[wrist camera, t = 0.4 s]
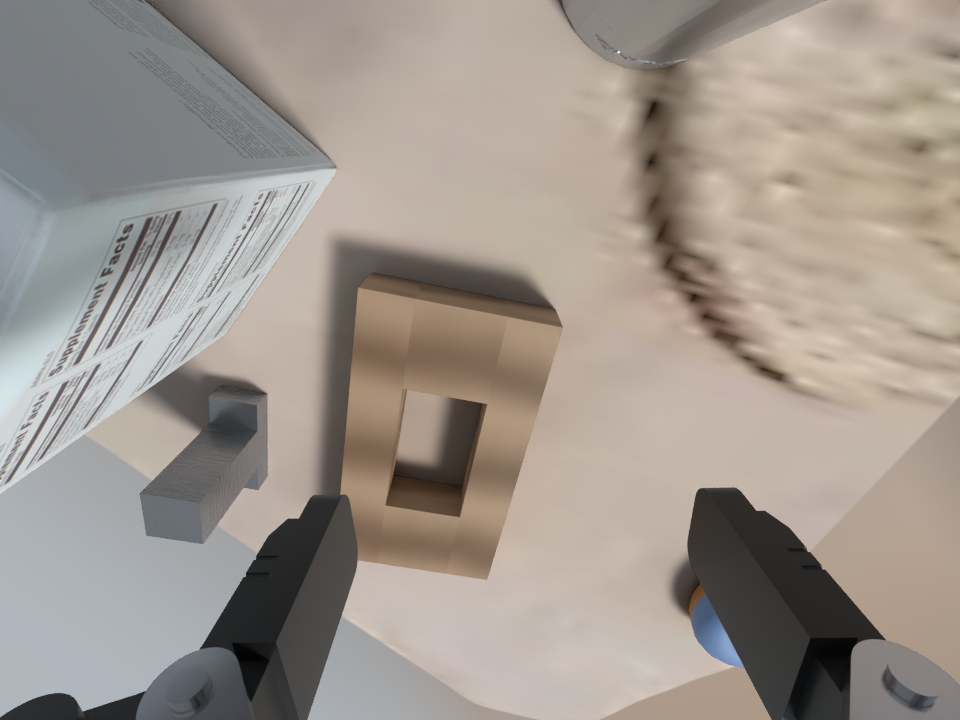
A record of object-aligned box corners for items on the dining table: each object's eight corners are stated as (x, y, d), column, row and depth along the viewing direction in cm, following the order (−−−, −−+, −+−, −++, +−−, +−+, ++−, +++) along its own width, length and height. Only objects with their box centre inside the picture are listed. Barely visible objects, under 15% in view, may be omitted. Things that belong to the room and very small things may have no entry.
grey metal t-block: (221, 385, 30) (134, 462, 22) (267, 393, 30) (196, 472, 23) (225, 468, 32) (150, 561, 25) (267, 475, 33) (205, 569, 25)
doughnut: (656, 611, 38) (683, 667, 34) (736, 530, 35) (776, 582, 31) (738, 637, 41) (773, 692, 37) (819, 565, 38) (867, 617, 34)
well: (371, 272, 26) (358, 287, 23) (555, 309, 27) (562, 327, 24) (346, 524, 35) (334, 556, 32) (487, 546, 35) (487, 579, 33)
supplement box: (4, 189, 24) (-881, 268, 9) (95, -48, 20) (-1361, -768, 4) (226, 338, 28) (-110, 587, 12) (344, 165, 24) (58, 206, 8)
